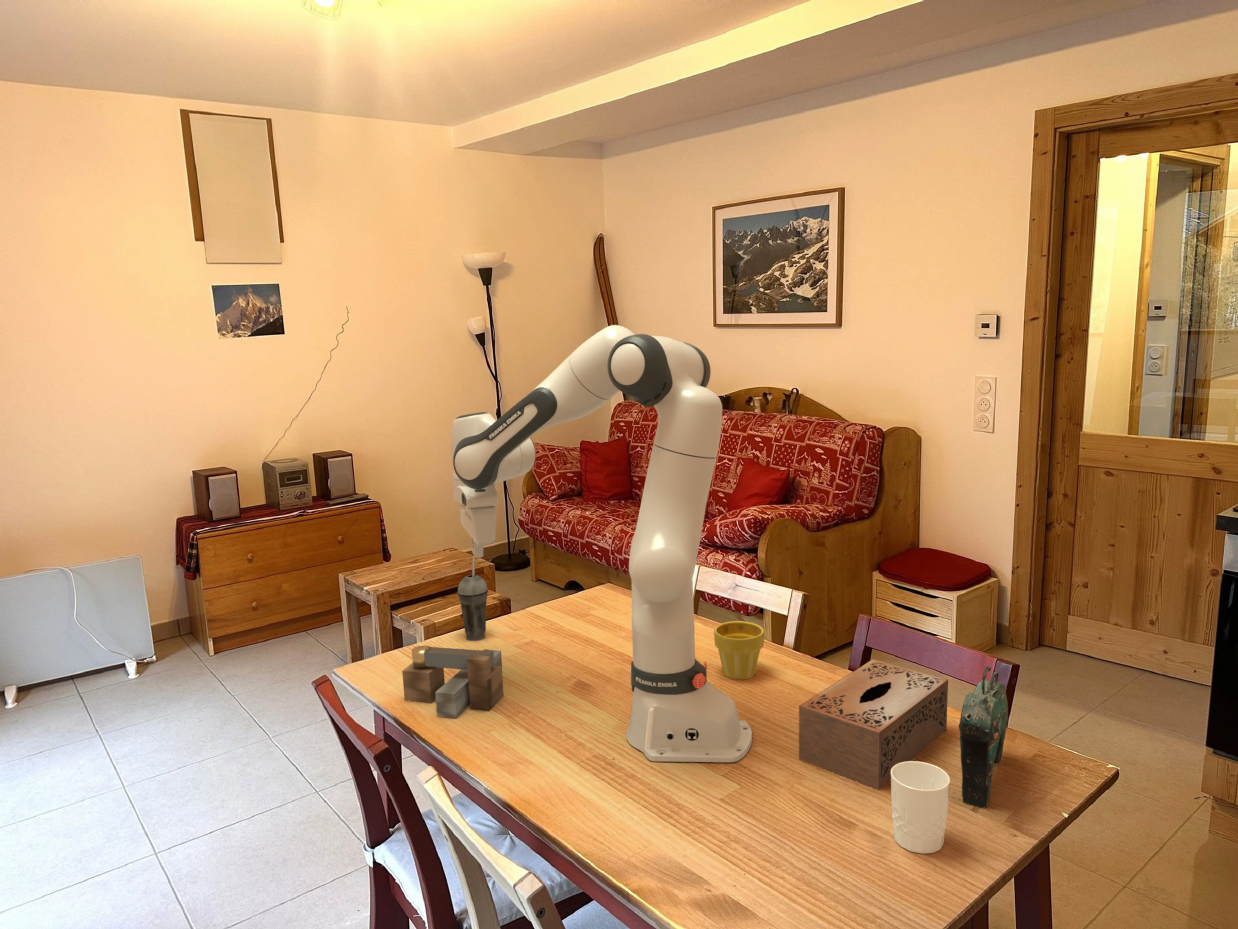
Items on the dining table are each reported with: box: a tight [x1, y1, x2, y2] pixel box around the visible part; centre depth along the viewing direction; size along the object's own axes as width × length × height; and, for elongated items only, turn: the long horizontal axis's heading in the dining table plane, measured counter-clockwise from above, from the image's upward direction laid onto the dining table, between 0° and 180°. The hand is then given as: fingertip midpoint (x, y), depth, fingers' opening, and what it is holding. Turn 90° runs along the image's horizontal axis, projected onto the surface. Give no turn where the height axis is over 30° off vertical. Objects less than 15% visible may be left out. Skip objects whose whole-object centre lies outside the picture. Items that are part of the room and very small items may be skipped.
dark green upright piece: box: [958, 665, 1009, 809], centre depth 134 cm, size 20×6×20 cm, turn 147°
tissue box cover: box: [798, 658, 949, 791], centre depth 147 cm, size 26×14×10 cm, turn 136°
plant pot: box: [713, 620, 765, 680], centre depth 178 cm, size 10×10×10 cm
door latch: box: [401, 649, 504, 719], centre depth 174 cm, size 19×22×10 cm
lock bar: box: [411, 645, 494, 670], centre depth 171 cm, size 17×4×3 cm, turn 76°
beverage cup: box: [457, 555, 489, 642], centre depth 203 cm, size 7×7×20 cm
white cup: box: [890, 760, 951, 854], centre depth 120 cm, size 8×8×10 cm
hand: (477, 555), depth 177 cm, fingers closed
